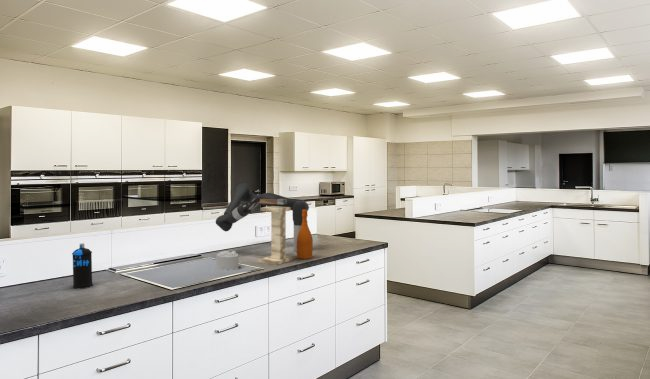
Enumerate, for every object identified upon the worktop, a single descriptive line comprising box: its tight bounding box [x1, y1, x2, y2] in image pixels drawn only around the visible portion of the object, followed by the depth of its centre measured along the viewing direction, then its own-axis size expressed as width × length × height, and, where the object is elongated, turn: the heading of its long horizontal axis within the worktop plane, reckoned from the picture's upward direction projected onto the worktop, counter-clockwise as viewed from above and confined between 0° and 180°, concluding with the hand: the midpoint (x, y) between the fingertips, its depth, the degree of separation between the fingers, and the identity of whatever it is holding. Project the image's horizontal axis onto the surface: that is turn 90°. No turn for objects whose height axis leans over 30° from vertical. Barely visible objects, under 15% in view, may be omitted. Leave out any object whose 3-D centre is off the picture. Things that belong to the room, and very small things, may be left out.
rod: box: [253, 199, 287, 205], centre depth 264 cm, size 4×22×3 cm, turn 61°
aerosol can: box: [71, 242, 94, 289], centre depth 207 cm, size 8×8×20 cm
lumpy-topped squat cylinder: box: [215, 250, 240, 270], centre depth 248 cm, size 10×13×9 cm
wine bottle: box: [296, 209, 314, 260], centre depth 273 cm, size 10×10×30 cm
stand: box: [258, 206, 293, 266], centre depth 263 cm, size 16×13×32 cm
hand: (260, 198), depth 267 cm, fingers closed on rod, 2 cm apart
